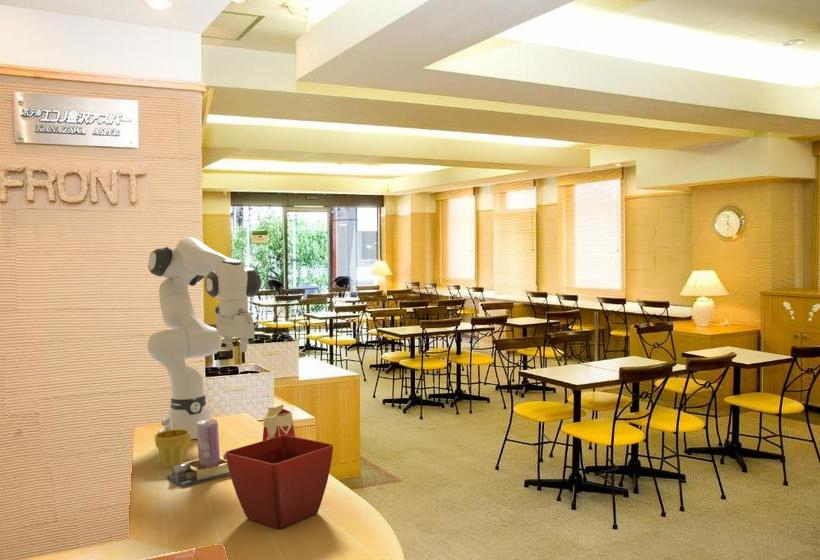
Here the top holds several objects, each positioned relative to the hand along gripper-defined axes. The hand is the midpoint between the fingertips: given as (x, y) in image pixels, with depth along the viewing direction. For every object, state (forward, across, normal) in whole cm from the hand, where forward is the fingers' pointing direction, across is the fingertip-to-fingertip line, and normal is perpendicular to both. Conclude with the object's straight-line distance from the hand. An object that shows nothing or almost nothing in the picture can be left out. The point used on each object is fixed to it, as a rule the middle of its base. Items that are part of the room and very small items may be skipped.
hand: (236, 350), depth 226 cm
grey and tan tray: (+33, -16, +19) cm, 41 cm away
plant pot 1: (+33, +2, +22) cm, 40 cm away
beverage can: (+32, -17, +19) cm, 41 cm away
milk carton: (+33, -29, +2) cm, 44 cm away
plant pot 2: (+34, -61, +20) cm, 72 cm away
